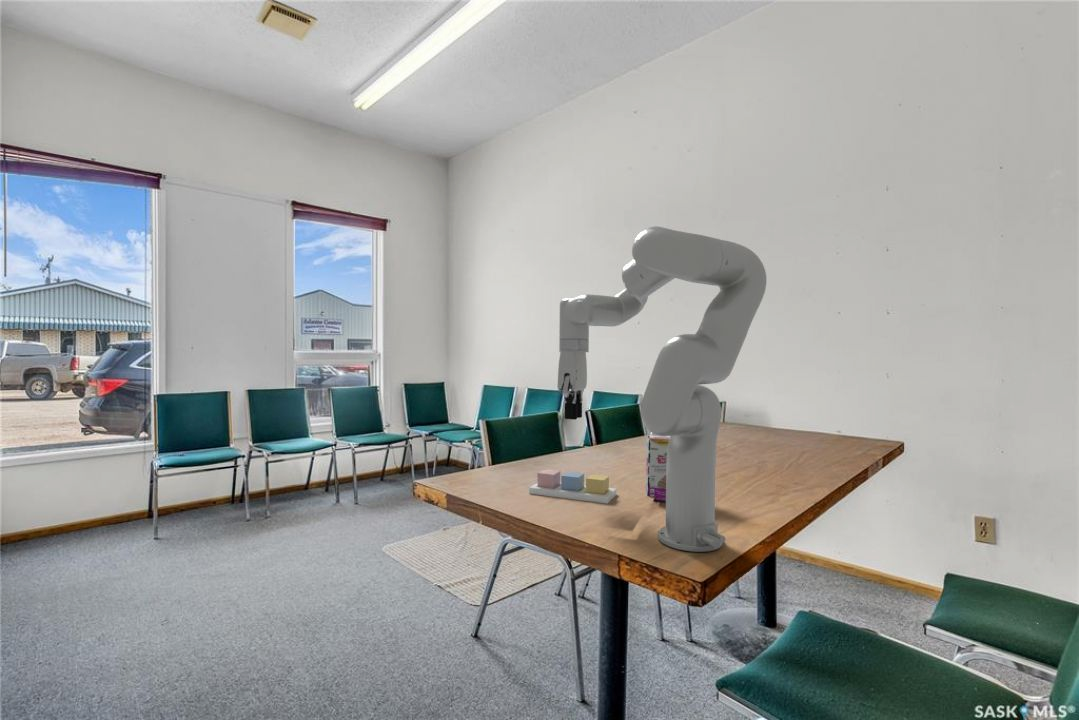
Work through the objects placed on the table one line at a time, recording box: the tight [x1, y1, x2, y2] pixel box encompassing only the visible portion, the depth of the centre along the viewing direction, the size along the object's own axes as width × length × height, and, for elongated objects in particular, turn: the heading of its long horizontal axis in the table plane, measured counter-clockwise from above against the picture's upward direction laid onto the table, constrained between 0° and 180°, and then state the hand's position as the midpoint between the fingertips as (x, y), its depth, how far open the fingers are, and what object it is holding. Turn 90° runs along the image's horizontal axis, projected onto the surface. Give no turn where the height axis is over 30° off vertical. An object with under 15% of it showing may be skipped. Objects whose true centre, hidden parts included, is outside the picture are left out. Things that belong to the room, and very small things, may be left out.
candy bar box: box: [645, 434, 670, 503], centre depth 131 cm, size 11×5×16 cm, turn 84°
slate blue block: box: [560, 471, 585, 492], centre depth 131 cm, size 5×5×5 cm
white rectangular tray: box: [528, 481, 617, 504], centre depth 131 cm, size 21×8×3 cm, turn 67°
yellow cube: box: [585, 474, 610, 495], centre depth 129 cm, size 5×5×5 cm
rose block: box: [536, 469, 561, 489], centre depth 134 cm, size 5×5×5 cm
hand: (573, 417), depth 131 cm, fingers open, 3 cm apart
